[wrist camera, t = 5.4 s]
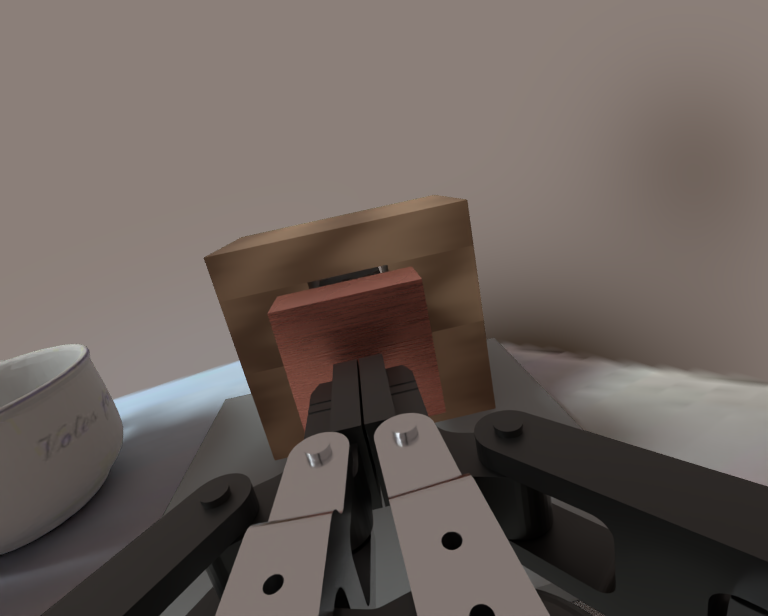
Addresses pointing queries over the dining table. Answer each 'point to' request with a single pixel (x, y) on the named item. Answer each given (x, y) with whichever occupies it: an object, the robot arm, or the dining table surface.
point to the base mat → (255, 460)
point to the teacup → (52, 440)
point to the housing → (346, 255)
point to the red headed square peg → (356, 331)
